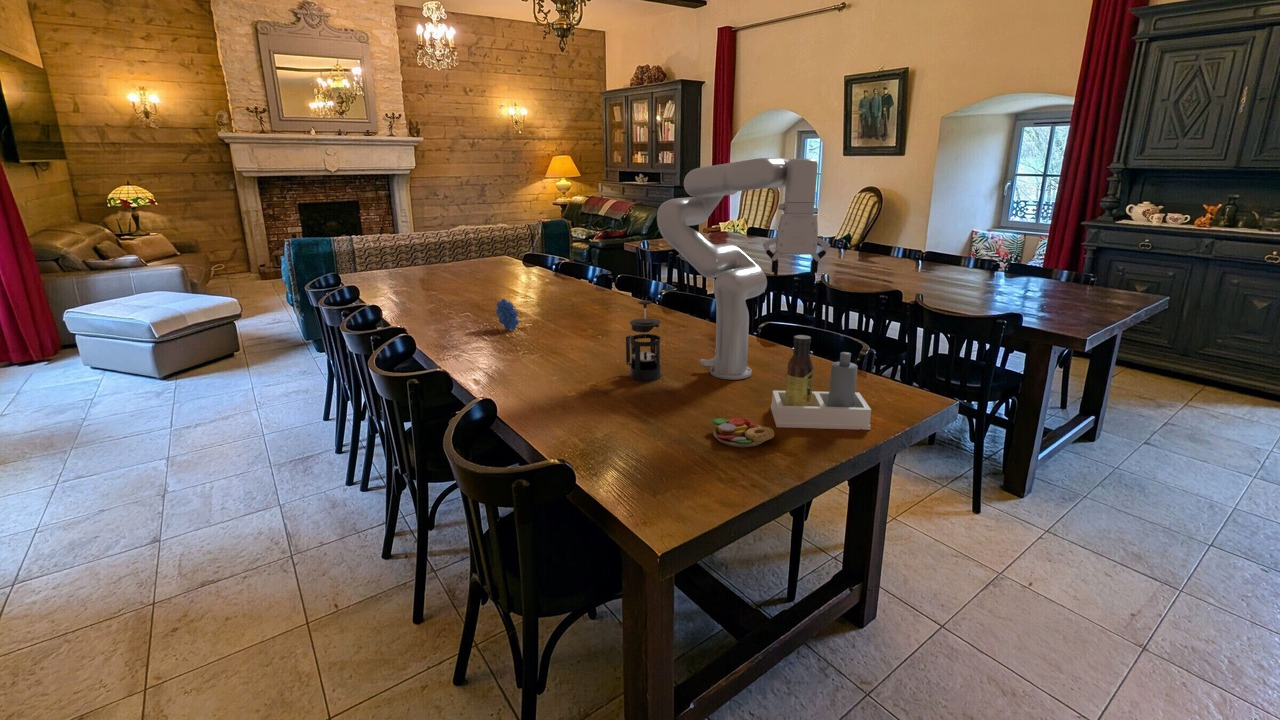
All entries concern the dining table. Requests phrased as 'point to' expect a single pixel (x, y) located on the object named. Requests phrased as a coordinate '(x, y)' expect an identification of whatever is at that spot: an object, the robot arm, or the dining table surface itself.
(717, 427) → the toy food set
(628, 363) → the french press
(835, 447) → the dining table surface
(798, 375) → the sauce bottle
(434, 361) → the dining table surface
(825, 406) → the condiment caddy
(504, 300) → the grapes
